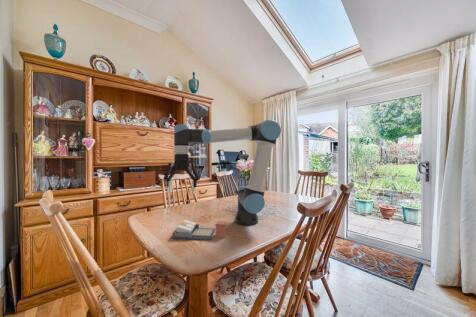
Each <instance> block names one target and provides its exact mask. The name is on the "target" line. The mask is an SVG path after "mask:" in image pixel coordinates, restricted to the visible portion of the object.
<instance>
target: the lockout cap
mask: <svg viewBox="0 0 476 317" xmlns="http://www.w3.org/2000/svg"><path fill="white" fill-rule="evenodd" d="M226 224H227V220H217V221H216V223H215V238H225V237H226V234H227V233H226V232H227V231H226V230H227V229H226V228H227V227H226V226H227V225H226Z"/></svg>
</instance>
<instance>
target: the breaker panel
mask: <svg viewBox="0 0 476 317" xmlns="http://www.w3.org/2000/svg"><path fill="white" fill-rule="evenodd" d="M176 230H177V228H175V230H173V231H172V236H171V239H173V240H192V241H193V240H195V241H196V240H198V241H211V239H212V237H213V236H214V233H216V227H200V224H199V223H198V224H197V223H196V226H195V228H194V229H193V231H192V232H191V233H182V232H176Z"/></svg>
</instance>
